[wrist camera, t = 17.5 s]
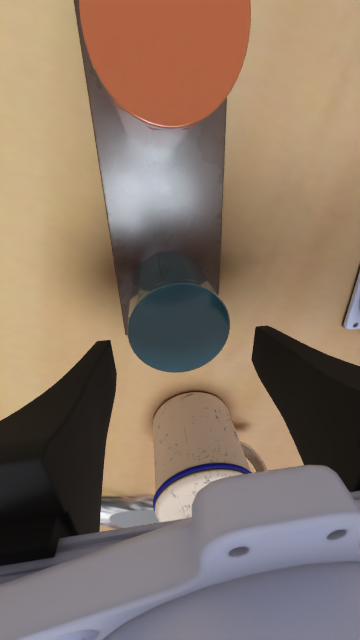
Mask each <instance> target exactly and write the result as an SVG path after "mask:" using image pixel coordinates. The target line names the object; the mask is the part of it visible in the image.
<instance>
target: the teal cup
mask: <svg viewBox="0 0 360 640" xmlns="http://www.w3.org/2000/svg"><path fill="white" fill-rule="evenodd" d="M229 329H230V320H229V314H228V311H227V309H226V307H225V305H224V303H223V302H222V300H221V299H220V297H219V296H218V295H217V294H216V292H215V290H214V289H213V287H212V286H211V284H210V283H209V281H208V280H207V278H206V277H205V275H204V274H203V272H202V271H201V269H200V268H199V266H198V265H197V263H196V262H195V261H194V260H193V259H191V258H189V257H187V256H185V255H183V254H182V253H180V252H177V251H175V252H159V253H156V254H154V255H153V256H151V257H150V258H148V259H147V260H145V261H144V262H142V263H141V264H140V266H139V268H138V270H137V272H136V274H135V276H134V279H133V281H132V290H131V298H130V306H129V315H128V330H127V331H128V339H129V343H130V345H131V348H132V349H133V351H134V353H135V354H136V355H137V356H138V358H139V359H141V360H142V361H143V362H144V363H145V364H147V365H149V366H150V367H152V368H155V369H157V370H161V371H165V372H186V371H190V370H194V369H196V368H199V367H201V366H203V365H205V364H206V363H208V362H210V361H211V360H212V359H213V358H214V357H215V356H216V355H217V354H218V353H219V352H220V351H221V350H222V348H223V346H224V345H225V343H226V341H227V338H228V335H229Z"/></svg>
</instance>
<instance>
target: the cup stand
mask: <svg viewBox="0 0 360 640" xmlns="http://www.w3.org/2000/svg"><path fill="white" fill-rule="evenodd" d="M74 5H75V12H76V18H77V25H78V31H79V38H80V44H81V50H82V57H83V63H84V70H85V76H86V83H87V89H88V96H89V102H90V109H91V115H92V122H93V128H94V134H95V141H96V147H97V154H98V160H99V167H100V173H101V180H102V186H103V193H104V199H105V206H106V212H107V218H108V225H109V231H110V238H111V244H112V251H113V257H114V264H115V270H116V277H117V283H118V290H119V296H120V302H121V309H122V315H123V322H124V328H125V335H128V331H127V330H128V315H129V306H130V298H131V290H132V281H133V279H134V276H135V274H136V272H137V270H138V268H139V266H140V264H141V263H142V262H144V261H145V260H147V259H148V258H150V257H151V256H153V255H154V254H156V253H159V252H175V251H177V252H180V253H182V254H183V255H185V256H187V257H189V258H191V259H193V260H194V261H195V262H196V263H197V265H198V266H199V268H200V269H201V271H202V272H203V274H204V275H205V277H206V278H207V280H208V281H209V283H210V284H211V286H212V287H213V289H214V290H215V292H216V294H217V295H218V296H219V274H220V250H221V226H222V202H223V178H224V153H225V129H226V105H227V97H226V99H225V100H224V101H223V102H222V104H221V105H220V107H219V108H218V109H217V110H216V111H215V112H214V113H213V114H212V115H211V116H210V117H209V118H208V119H207V120H206V121H205V122H204V123H203V124H202V125H201V126H200V127H199V128H198V129H197V130H196V131H195V132H194V133H193V134H192V135H191V136H189V137H188V138H187V139H185V140H184V141H183V142H181V143H180V144H179V145H177V146H176V147H173V148H158V149H150V148H148V147H146V146H144V145H143V144H141V143H140V142H138V141H136V140H135V139H133V138H132V137H130V136H129V135H127V134H126V132H125V131H124V129H123V127H122V126H121V124H120V122H119V120H118V119H117V117H116V115H115V114H114V112H113V110H112V109H111V106H110V104H109V102H108V100H107V97H106V95H105V93H104V90H103V88H102V86H101V84H100V81H99V79H98V77H97V74H96V72H95V70H94V68H93V65H92V62H91V60H90V56H89V53H88V50H87V47H86V43H85V40H84V36H83V30H82V25H81V19H80V9H79V0H74Z"/></svg>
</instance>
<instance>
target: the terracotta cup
mask: <svg viewBox="0 0 360 640" xmlns="http://www.w3.org/2000/svg"><path fill="white" fill-rule="evenodd" d="M79 9H80V19H81V25H82V30H83V36H84V40H85V43H86V47H87V50H88V53H89V56H90V60H91V62H92V65H93V68H94V70H95V72H96V74H97V77H98V79H99V81H100V84H101V86H102V88H103V90H104V93H105V95H106V97H107V100H108V102H109V104H110V106H111V109H112V110H113V112H114V114H115V115H116V117H117V119H118V120H119V122H120V124H121V126H122V127H123V129H124V131H125V132H126V134H127V135H129V136H130V137H132V138H133V139H135V140H136V141H138V142H140V143H141V144H143V145H144V146H146V147H148V148H150V149H158V148H173V147H176V146H177V145H179V144H180V143H181V142H183V141H184V140H185V139H187V138H188V137H189V136H191V135H192V134H193V133H194V132H195V131H196V130H197V129H198V128H199V127H200V126H201V125H202V124H203V123H204V122H205V121H206V120H207V119H208V118H209V117H210V116H211V115H212V114H213V113H214V112H215V111H216V110H217V109H218V108H219V107H220V105H221V104H222V102H223V101H224V100H225V99H226V97H227V96H228V94H229V93H230V91H231V90H232V88H233V86H234V84H235V82H236V81H237V78H238V76H239V73H240V71H241V69H242V66H243V62H244V59H245V56H246V52H247V47H248V42H249V34H250V23H251V5H250V0H79Z"/></svg>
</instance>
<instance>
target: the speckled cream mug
mask: <svg viewBox="0 0 360 640" xmlns="http://www.w3.org/2000/svg"><path fill="white" fill-rule="evenodd" d="M153 437H154V463H155V489H156V494H155V496H154V499H153V508H154V511H155V513H156V516H157V518H158V520H159V521H160V522H166V521H172V520H179V519H185V518H190V517H192V503H193V501H194V499H195V496H196V494H197V493H198V491H199V490H201V489H202V488H203V487H205V486H206V485H208V484H209V483H210V482H212V481H215V480H218V479H222V478H225V477H228V476H235V475H242V474H248V473H252V472H251V471H250V468H249V465H248V463H247V460H246V458H247V459H248V460H249V461H250V462H251V463H252V464H253V466H254V468H255V469H256V471H257V472H262V471H267V468H266V466H265V464H264V462H263V460H262V459H261V458H260V456H259V455H258V454H257V453H256V452H255V451H254V450H253V449H252V448H251V447H250V446H248V445H247V444H245V443H243V442H240V441H239V438H238V436H237V433H236V430H235V428H234V425H233V422H232V420H231V417H230V414H229V412H228V409H227V407H226V405H225V404H224V403H223V402H222V401H221V400H220V399H219V398H217V397H215V396H213V395H211V394H207V393H202V392H190V393H185V394H181V395H178V396H176V397H173V398H172V399H170V400H168V401H167V402H166V403H164V404H163V405H162V406H161V407H160V408H159V410H158V411H157V413H156V415H155V417H154V420H153Z"/></svg>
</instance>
